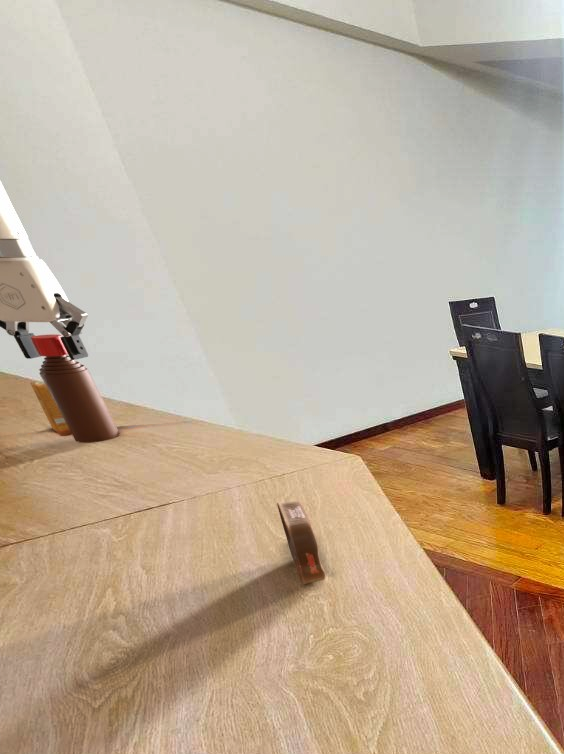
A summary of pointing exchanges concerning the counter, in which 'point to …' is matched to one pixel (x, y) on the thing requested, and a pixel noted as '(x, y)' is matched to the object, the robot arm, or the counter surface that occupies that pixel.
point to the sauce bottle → (78, 399)
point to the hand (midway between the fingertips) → (57, 356)
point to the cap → (49, 345)
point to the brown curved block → (301, 541)
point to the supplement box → (50, 409)
